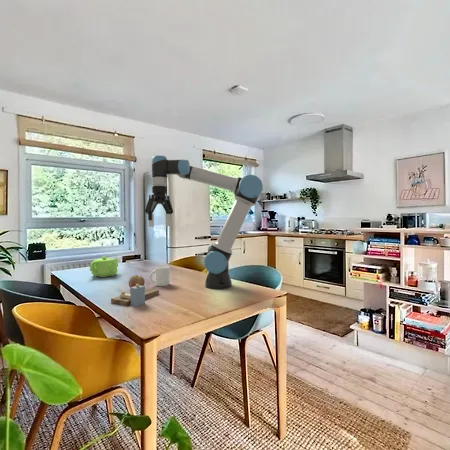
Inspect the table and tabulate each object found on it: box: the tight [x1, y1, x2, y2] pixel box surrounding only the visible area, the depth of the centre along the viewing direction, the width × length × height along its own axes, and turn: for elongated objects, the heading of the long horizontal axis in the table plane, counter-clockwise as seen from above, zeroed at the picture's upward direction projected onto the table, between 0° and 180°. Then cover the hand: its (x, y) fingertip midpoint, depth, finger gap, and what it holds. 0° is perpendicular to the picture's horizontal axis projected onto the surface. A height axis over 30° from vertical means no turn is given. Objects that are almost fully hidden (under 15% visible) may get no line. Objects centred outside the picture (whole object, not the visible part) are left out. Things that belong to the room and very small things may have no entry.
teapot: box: [89, 256, 119, 278], centre depth 195 cm, size 18×20×13 cm
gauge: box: [119, 284, 146, 307], centre depth 135 cm, size 12×5×9 cm, turn 63°
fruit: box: [128, 274, 146, 288], centre depth 158 cm, size 8×8×8 cm
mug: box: [148, 265, 171, 287], centre depth 169 cm, size 12×8×10 cm
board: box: [110, 287, 160, 307], centre depth 143 cm, size 10×22×2 cm, turn 153°
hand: (160, 226), depth 154 cm, fingers open, 13 cm apart
